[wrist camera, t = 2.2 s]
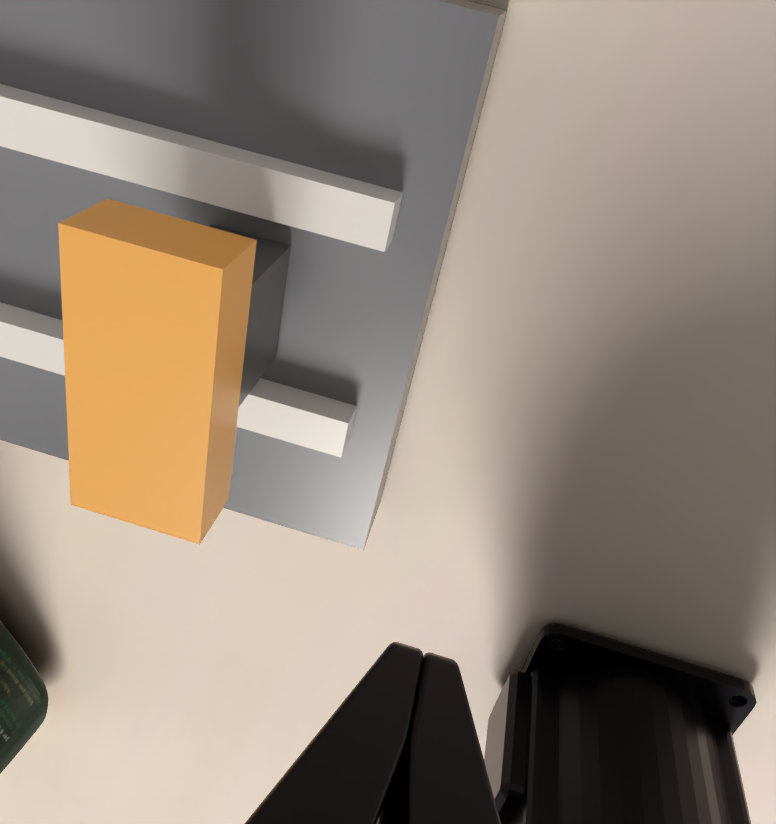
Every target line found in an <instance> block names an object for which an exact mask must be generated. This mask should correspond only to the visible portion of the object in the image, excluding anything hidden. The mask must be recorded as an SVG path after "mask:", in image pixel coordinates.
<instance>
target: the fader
mask: <svg viewBox="0 0 776 824" xmlns="http://www.w3.org/2000/svg"><path fill="white" fill-rule="evenodd" d="M58 231H59V252H60V274H61V296H62V318H63V340H64V362H65V384H66V406H67V428H68V450H69V472H70V494H71V505H74V506H77V507H80V508H84V509H87V510H90V511H93V512H97V513H100V514H103V515H106V516H110V517H113V518H116V519H119V520H122V521H126V522H129V523H132V524H135V525H139V526H142V527H145V528H148V529H152V530H155V531H158V532H161V533H165V534H168V535H171V536H174V537H178V538H181V539H184V540H187V541H190V542H194V543H197V544H200V543H201V541H202V540H203V538H204V537H205V535H206V534H207V532H208V530H209V529H210V527H211V526H212V524H213V523H214V521H215V520H216V518H217V516H218V515H219V513H220V512H221V510H222V509H223V507H224V505H225V504H226V502H227V501H228V499H229V490H230V481H231V472H232V463H233V454H234V444H235V435H236V426H237V417H238V408H239V406H240V405H241V404H242V402H243V401H244V400H245V398H246V397H247V396H248V394H249V393H250V392H251V390H252V389H253V388H254V386H255V385H256V384H257V382H258V381H259V380H260V378H261V377H262V376H263V374H264V373H265V372H266V370H267V369H268V368H269V366H270V365H271V364H272V362H273V361H274V360H275V357H276V350H277V342H278V335H279V328H280V320H281V313H282V306H283V298H284V291H285V284H286V276H287V269H288V262H289V254H290V247H291V246H288V245H285V244H281V243H277V242H274V241H270V240H266V239H263V238H259V237H256V236H252V235H248V234H245V233H241V232H238V231H234V230H230V229H227V228H223V227H220V226H216V225H212V224H210V225H209V226H205V225H201V224H198V223H194V222H190V221H187V220H183V219H180V218H176V217H172V216H169V215H165V214H162V213H158V212H154V211H151V210H147V209H144V208H140V207H136V206H133V205H129V204H126V203H122V202H118V201H115V200H111V199H106V200H103V201H101V202H99V203H97V204H95V205H93V206H91V207H89V208H87V209H85V210H83V211H81V212H79V213H77V214H75V215H73V216H71V217H69V218H67V219H65V220H63V221H61V222H59V223H58Z"/></svg>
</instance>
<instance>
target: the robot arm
mask: <svg viewBox="0 0 776 824" xmlns="http://www.w3.org/2000/svg"><path fill="white" fill-rule="evenodd" d="M554 639H557V640H561V641H553V640H554ZM736 695H739V696H736ZM755 705H756V698H755V694H754V690H753V686H752V685H751V684H750V683H749V682H747V681H744V680H742V679H739V678H735V677H732V676H729V675H726V674H722V673H719V672H716V671H713V670H709V669H706V668H703V667H700V666H696V665H693V664H690V663H686V662H683V661H680V660H677V659H673V658H670V657H667V656H664V655H660V654H657V653H654V652H650V651H647V650H644V649H641V648H637V647H634V646H631V645H628V644H624V643H621V642H618V641H615V640H611V639H608V638H605V637H601V636H598V635H595V634H592V633H588V632H585V631H582V630H579V629H575V628H572V627H569V626H565V625H562V624H556V623H555V624H549V625H546V626H544V627H543V628H542V630H541V631H540V633H539V635H538V637H537V640H536V642H535V644H534V646H533V648H532V650H531V652H530V654H529V656H528V658H527V660H526V663H525V665H524V667H523V669H522V671H518V670H516V671H514V672H513V673H511V674H509V676H508V678H507V680H506V683H505V685H504V687H503V689H502V691H501V693H500V695H499V698H498V700H497V702H496V704H495V706H494V708H493V711H492V713H491V715H490V717H489V721H488V730H487V739H486V749H485V758H484V759H483V755H482V751H481V747H480V744H479V740H478V736H477V733H476V729H475V725H474V721H473V718H472V714H471V710H470V707H469V703H468V699H467V695H466V692H465V688H464V684H463V681H462V677H461V673H460V670H459V667H458V665H457V663H456V662H455V661H454V660H452V659H449V658H446V657H443V656H440V655H437V654H433V653H426V654H425V655H424V656H423V653H422V651H421V650H420V649H418V648H414V647H411V646H408V645H405V644H402V643H398V642H393V643H391V644H390V645H389V646H388V647H387V648H386V650H385V651H384V652H383V653H382V655H381V656H380V657H379V658H378V659H377V661H376V662H375V663H374V664H373V666H372V667H371V668H370V669H369V671H368V672H367V673H366V674H365V676H364V677H363V678H362V679H361V680H360V682H359V683H358V684H357V685H356V687H355V688H354V689H353V690H352V692H351V693H350V694H349V695H348V697H347V698H346V699H345V700H344V701H343V703H342V704H341V705H340V706H339V708H338V709H337V710H336V711H335V713H334V714H333V715H332V716H331V718H330V719H329V720H328V721H327V723H326V724H325V725H324V726H323V727H322V729H321V730H320V731H319V732H318V734H317V735H316V736H315V737H314V739H313V740H312V741H311V742H310V744H309V745H308V746H307V747H306V748H305V750H304V751H303V752H302V753H301V755H300V756H299V757H298V758H297V760H296V761H295V762H294V763H293V765H292V766H291V767H290V768H289V770H288V771H287V772H286V773H285V774H284V776H283V777H282V778H281V779H280V781H279V782H278V783H277V784H276V786H275V787H274V788H273V789H272V791H271V792H270V793H269V794H268V795H267V797H266V798H265V799H264V800H263V802H262V803H261V804H260V805H259V807H258V808H257V809H256V810H255V812H254V813H253V814H252V815H251V817H250V818H249V819H248V820H247V821H246V823H245V824H751V821H750V817H749V812H748V807H747V803H746V798H745V793H744V789H743V784H742V779H741V775H740V770H739V765H738V761H737V756H736V751H735V747H734V742H733V737H732V735H733V733H734V732H735V731H736V730H737V728H738V727H739V726H740V725H741V723H742V722H743V721H744V719H745V718H746V717H747V716H748V714H749V713H750V712H751V711H752V709H753V708H754V707H755Z"/></svg>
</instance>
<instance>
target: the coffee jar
mask: <svg viewBox="0 0 776 824" xmlns="http://www.w3.org/2000/svg"><path fill="white" fill-rule="evenodd" d="M47 707H48V694H47V690H46V687H45V684H44V682H43V680H42V678H41V677H40V675H39V673H38V672H37V670H36V668H35V667H34V666H33V664H32V662H31V661H30V659H29V658H28V656H27V655H26V654H25V652H24V650H23V649H22V648H21V647H20V645H19V644H18V643H17V641H16V640H15V639H14V638H13V636H12V635H11V634H10V633H9V631H8V630H7V629H6V627H5V626H4V625H3V623H2V622H1V621H0V773H1V772H2V771H3V770H4V769H5V768H6V766H7V765H8V764H9V763H10V762H11V761H12V759H13V758H14V757H15V756H16V755H17V753H18V752H19V751H20V750H21V749H22V747H23V746H24V745H25V744H26V743H27V741H28V740H29V739H30V738H31V736H32V735H33V734H34V733H35V732H36V730H37V729H38V728H39V726H40V725H41V724H42V722H43V721H44V719H45V716H46V713H47Z"/></svg>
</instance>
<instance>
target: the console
mask: <svg viewBox="0 0 776 824" xmlns="http://www.w3.org/2000/svg"><path fill="white" fill-rule="evenodd" d="M506 13H507V10H503V9H499V8H495V7H491V6H487V5H483V4H479V3H475V2H471V1H467V0H0V440H3V441H6V442H10V443H13V444H16V445H19V446H23V447H26V448H29V449H32V450H36V451H39V452H42V453H46V454H49V455H52V456H55V457H59V458H62V459H65V460H69V450H68V428H67V406H66V384H65V362H64V340H63V318H62V296H61V274H60V252H59V231H58V223H59V222H61V221H63V220H65V219H67V218H69V217H71V216H73V215H75V214H77V213H79V212H81V211H83V210H85V209H87V208H89V207H91V206H93V205H95V204H97V203H99V202H101V201H103V200H106V199H111V200H115V201H118V202H122V203H126V204H129V205H133V206H136V207H140V208H144V209H147V210H151V211H154V212H158V213H162V214H165V215H169V216H172V217H176V218H180V219H183V220H187V221H190V222H194V223H198V224H201V225H205V226H209V225H210V224H212V225H216V226H220V227H223V228H227V229H230V230H234V231H238V232H241V233H245V234H248V235H252V236H256V237H259V238H263V239H266V240H270V241H274V242H277V243H281V244H285V245H288V246H291V247H290V254H289V262H288V269H287V276H286V284H285V291H284V298H283V306H282V313H281V320H280V328H279V335H278V342H277V350H276V357H275V360H274V361H273V362H272V364H271V365H270V366H269V368H268V369H267V370H266V372H265V373H264V374H263V376H262V377H261V378H260V380H259V381H258V382H257V384H256V385H255V386H254V388H253V389H252V390H251V392H250V393H249V394H248V396H247V397H246V398H245V400H244V401H243V402H242V404H241V405H240V406H239V408H238V417H237V426H236V435H235V444H234V454H233V463H232V472H231V481H230V490H229V499H228V501H227V502H226V504H225V505H224V507H223V508H226V509H229V510H233V511H236V512H239V513H243V514H246V515H249V516H252V517H256V518H259V519H262V520H266V521H269V522H272V523H275V524H279V525H282V526H285V527H289V528H292V529H295V530H298V531H302V532H305V533H308V534H311V535H315V536H318V537H321V538H325V539H328V540H331V541H334V542H338V543H341V544H344V545H348V546H351V547H354V548H357V549H361V550H364V547H365V544H366V542H367V539H368V536H369V533H370V530H371V527H372V524H373V522H374V519H375V516H376V513H377V510H378V507H379V504H380V501H381V497H382V493H383V489H384V485H385V481H386V477H387V474H388V470H389V466H390V462H391V458H392V454H393V450H394V446H395V443H396V439H397V435H398V431H399V427H400V423H401V419H402V416H403V412H404V408H405V404H406V400H407V396H408V392H409V388H410V385H411V381H412V377H413V373H414V369H415V365H416V361H417V358H418V354H419V350H420V346H421V342H422V338H423V334H424V330H425V327H426V323H427V319H428V315H429V311H430V307H431V303H432V300H433V296H434V292H435V288H436V284H437V280H438V276H439V272H440V269H441V265H442V261H443V257H444V253H445V249H446V245H447V242H448V238H449V234H450V230H451V226H452V222H453V218H454V214H455V211H456V207H457V203H458V199H459V195H460V191H461V187H462V184H463V180H464V176H465V172H466V168H467V164H468V160H469V156H470V153H471V149H472V145H473V141H474V137H475V133H476V129H477V126H478V122H479V118H480V114H481V110H482V106H483V102H484V98H485V95H486V91H487V87H488V83H489V79H490V75H491V71H492V68H493V64H494V60H495V56H496V52H497V48H498V44H499V40H500V37H501V33H502V29H503V25H504V21H505V17H506Z"/></svg>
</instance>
